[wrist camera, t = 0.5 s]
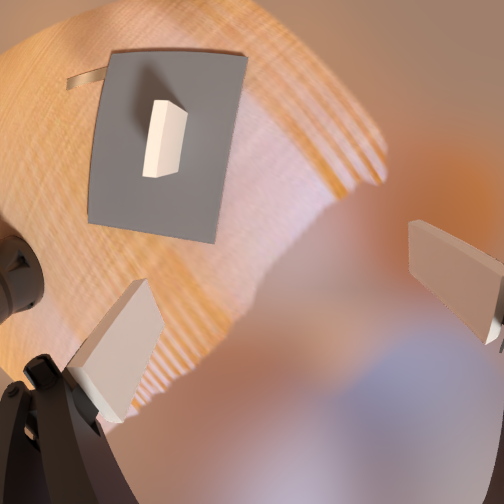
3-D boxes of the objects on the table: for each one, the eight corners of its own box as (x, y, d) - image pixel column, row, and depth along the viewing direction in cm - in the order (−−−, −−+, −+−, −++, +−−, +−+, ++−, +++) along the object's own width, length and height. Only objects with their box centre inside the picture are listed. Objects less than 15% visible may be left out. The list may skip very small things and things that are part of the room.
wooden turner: (69, 101, 32) (65, 101, 31) (71, 69, 30) (68, 68, 29) (184, 78, 32) (182, 77, 31) (186, 43, 30) (185, 40, 29)
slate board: (91, 221, 38) (88, 223, 37) (115, 56, 29) (111, 53, 28) (215, 241, 39) (214, 244, 38) (248, 59, 31) (248, 57, 29)
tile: (165, 170, 35) (140, 176, 26) (175, 111, 32) (152, 99, 23) (178, 172, 35) (155, 177, 26) (187, 112, 32) (168, 100, 24)
